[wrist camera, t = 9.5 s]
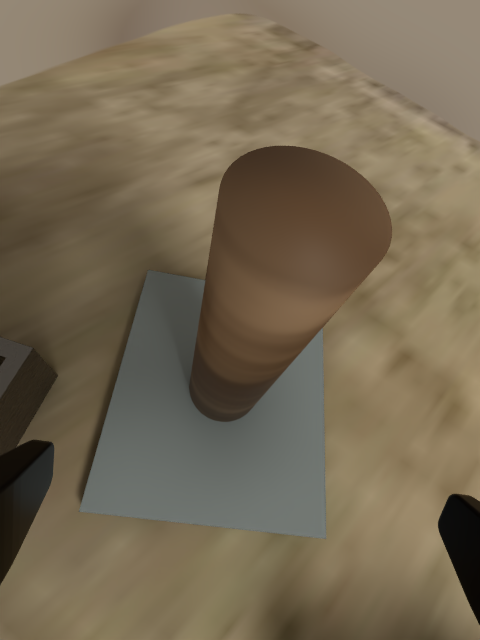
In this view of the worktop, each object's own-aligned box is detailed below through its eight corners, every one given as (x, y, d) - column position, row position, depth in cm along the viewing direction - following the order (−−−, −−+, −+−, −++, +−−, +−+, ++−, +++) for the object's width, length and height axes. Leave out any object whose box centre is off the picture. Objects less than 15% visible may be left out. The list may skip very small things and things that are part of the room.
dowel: (226, 437, 19) (332, 317, 6) (174, 387, 19) (179, 195, 7) (271, 385, 20) (420, 215, 8) (221, 341, 21) (290, 125, 9)
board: (318, 537, 18) (326, 538, 17) (83, 511, 17) (78, 511, 16) (316, 308, 25) (322, 301, 24) (148, 278, 24) (148, 269, 23)
